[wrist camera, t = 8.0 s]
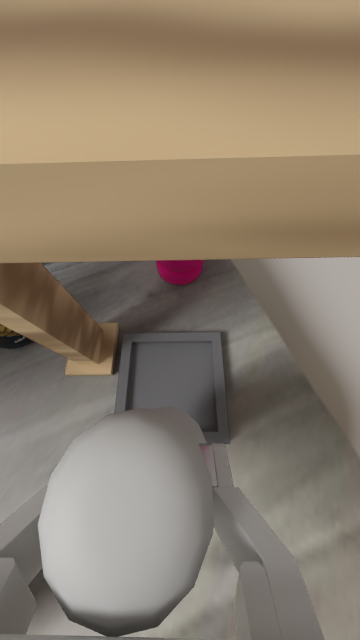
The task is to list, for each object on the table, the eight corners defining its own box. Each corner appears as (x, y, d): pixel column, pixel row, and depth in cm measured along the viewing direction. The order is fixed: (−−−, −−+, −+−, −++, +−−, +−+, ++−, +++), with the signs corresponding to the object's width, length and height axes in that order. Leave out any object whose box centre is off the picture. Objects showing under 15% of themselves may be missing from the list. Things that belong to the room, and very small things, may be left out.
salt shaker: (155, 519, 14) (29, 913, 3) (115, 441, 17) (-54, 480, 5) (221, 458, 16) (318, 553, 4) (175, 393, 18) (157, 337, 6)
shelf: (223, 393, 22) (601, 149, 2) (64, 394, 23) (-967, 190, 2) (217, 324, 26) (340, -32, 5) (78, 325, 26) (-300, -4, 6)
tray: (227, 442, 21) (230, 444, 20) (114, 442, 21) (110, 444, 20) (218, 335, 25) (220, 332, 24) (126, 336, 25) (123, 333, 24)
